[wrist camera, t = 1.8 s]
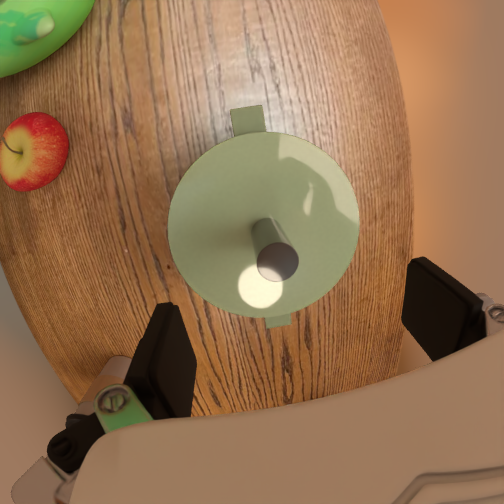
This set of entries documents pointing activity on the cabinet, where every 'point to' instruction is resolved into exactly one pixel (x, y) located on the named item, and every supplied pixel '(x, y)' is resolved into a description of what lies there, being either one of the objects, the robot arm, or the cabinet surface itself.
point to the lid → (263, 224)
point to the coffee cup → (100, 386)
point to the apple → (33, 151)
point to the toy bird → (36, 30)
